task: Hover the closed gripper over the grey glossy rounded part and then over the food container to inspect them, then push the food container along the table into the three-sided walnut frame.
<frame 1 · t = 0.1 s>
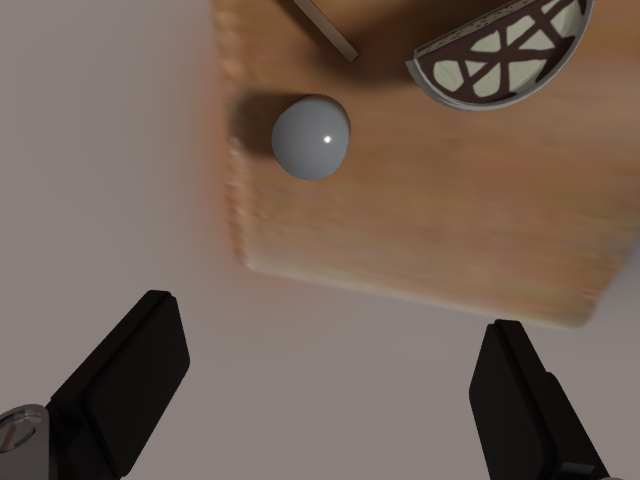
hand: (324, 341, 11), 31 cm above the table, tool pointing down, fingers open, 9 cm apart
grey glossy rounded part: (317, 129, 39), on the table
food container: (473, 58, 34), on the table
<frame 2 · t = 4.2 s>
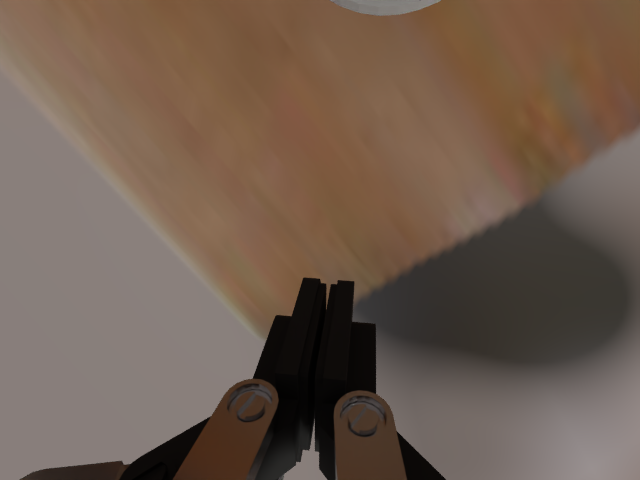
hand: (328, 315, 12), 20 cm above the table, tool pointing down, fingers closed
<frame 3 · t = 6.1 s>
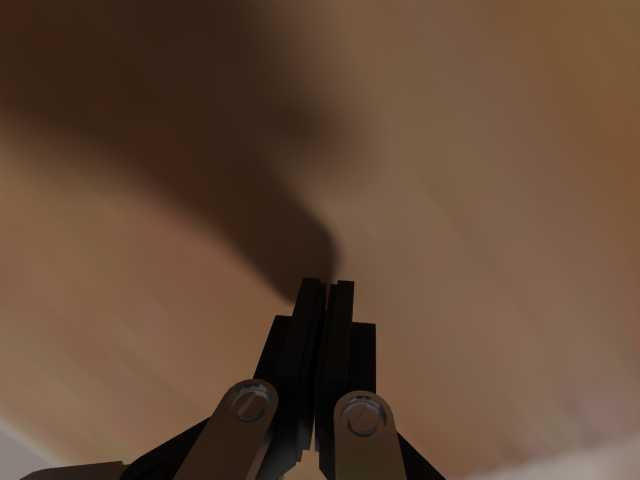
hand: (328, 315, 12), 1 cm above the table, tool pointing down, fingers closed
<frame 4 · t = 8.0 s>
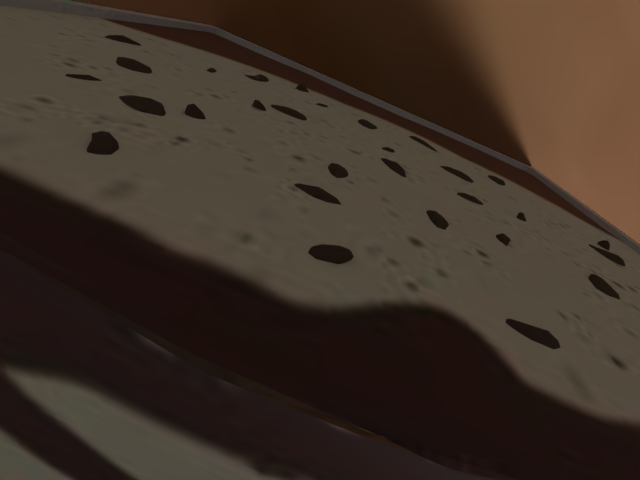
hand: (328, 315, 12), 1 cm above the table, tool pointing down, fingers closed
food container: (334, 194, 11), on the table, touching gripper
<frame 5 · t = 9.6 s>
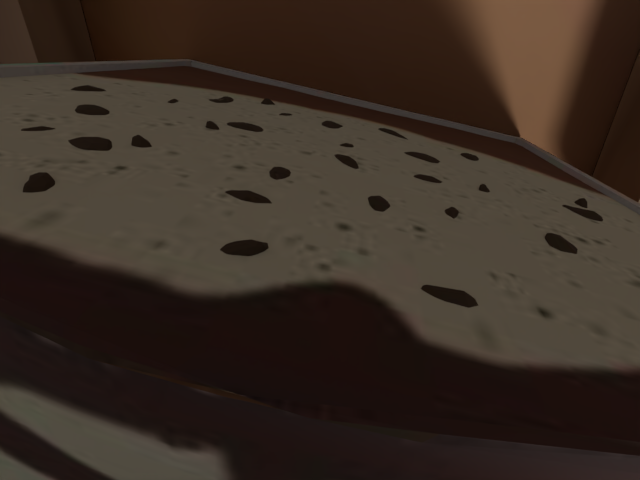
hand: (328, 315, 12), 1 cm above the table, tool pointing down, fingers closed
frame: (342, 43, 9), on the table
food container: (329, 197, 12), on the table, touching gripper
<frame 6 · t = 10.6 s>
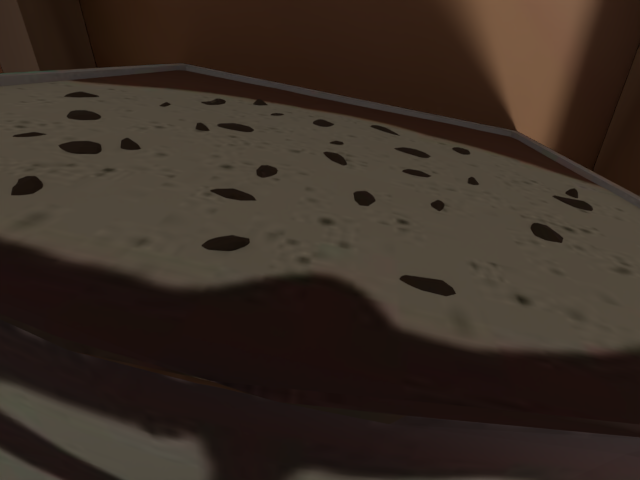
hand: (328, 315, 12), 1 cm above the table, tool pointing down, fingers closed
frame: (340, 77, 10), on the table
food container: (327, 196, 12), on the table
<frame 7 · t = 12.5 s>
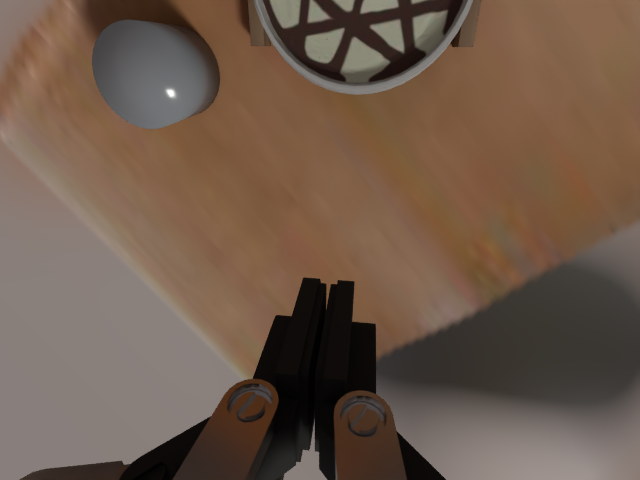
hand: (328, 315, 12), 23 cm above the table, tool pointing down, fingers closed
grey glossy rounded part: (179, 72, 31), on the table
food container: (355, 38, 28), on the table
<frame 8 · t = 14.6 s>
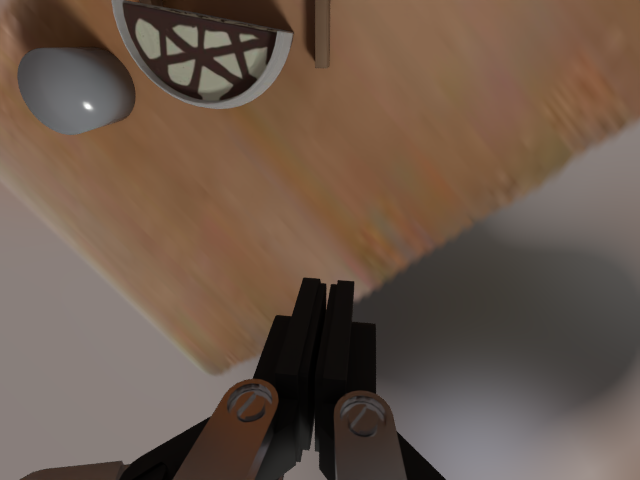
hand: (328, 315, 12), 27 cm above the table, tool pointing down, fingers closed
grey glossy rounded part: (102, 86, 37), on the table
frame: (239, 15, 32), on the table
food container: (241, 59, 34), on the table
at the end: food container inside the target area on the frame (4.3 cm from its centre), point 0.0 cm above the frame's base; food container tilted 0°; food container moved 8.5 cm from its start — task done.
